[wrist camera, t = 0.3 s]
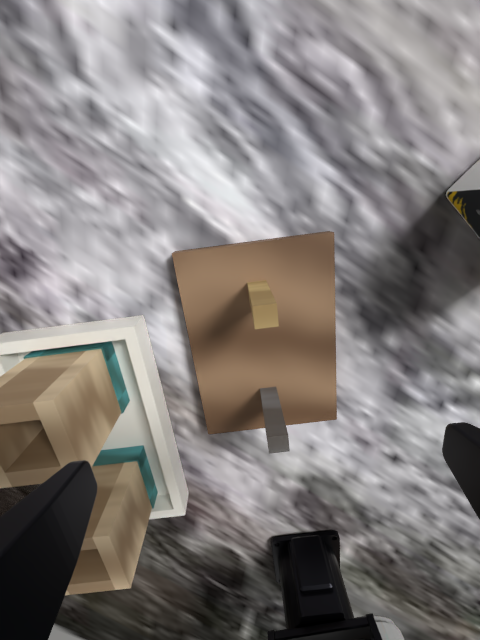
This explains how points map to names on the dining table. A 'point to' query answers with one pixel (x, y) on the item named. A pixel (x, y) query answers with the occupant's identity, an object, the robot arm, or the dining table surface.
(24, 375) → the oak sleeve
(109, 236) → the dining table surface
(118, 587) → the sleeve
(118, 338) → the feeder tray
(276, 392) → the pin board
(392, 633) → the coffee cup
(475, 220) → the medicine bottle
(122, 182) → the dining table surface
